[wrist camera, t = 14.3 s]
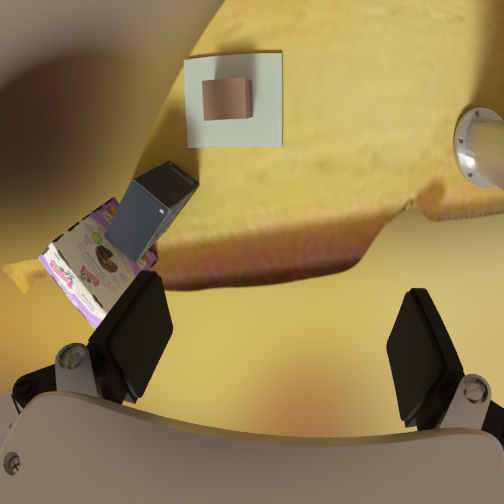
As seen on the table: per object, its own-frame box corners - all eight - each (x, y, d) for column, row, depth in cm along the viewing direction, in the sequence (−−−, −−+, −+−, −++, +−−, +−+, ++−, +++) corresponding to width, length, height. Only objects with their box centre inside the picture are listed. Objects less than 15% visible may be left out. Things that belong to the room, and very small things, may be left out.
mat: (281, 53, 29) (281, 53, 29) (282, 146, 36) (282, 147, 35) (185, 60, 31) (183, 60, 31) (189, 147, 37) (187, 148, 37)
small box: (167, 157, 39) (131, 176, 30) (201, 184, 40) (173, 210, 31) (136, 208, 44) (100, 237, 35) (166, 232, 45) (136, 266, 36)
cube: (251, 80, 31) (244, 77, 27) (252, 117, 34) (246, 118, 29) (213, 83, 32) (202, 80, 28) (215, 118, 34) (203, 121, 30)
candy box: (96, 211, 45) (35, 257, 31) (115, 195, 43) (50, 240, 29) (138, 271, 50) (93, 330, 36) (160, 260, 48) (113, 322, 34)
